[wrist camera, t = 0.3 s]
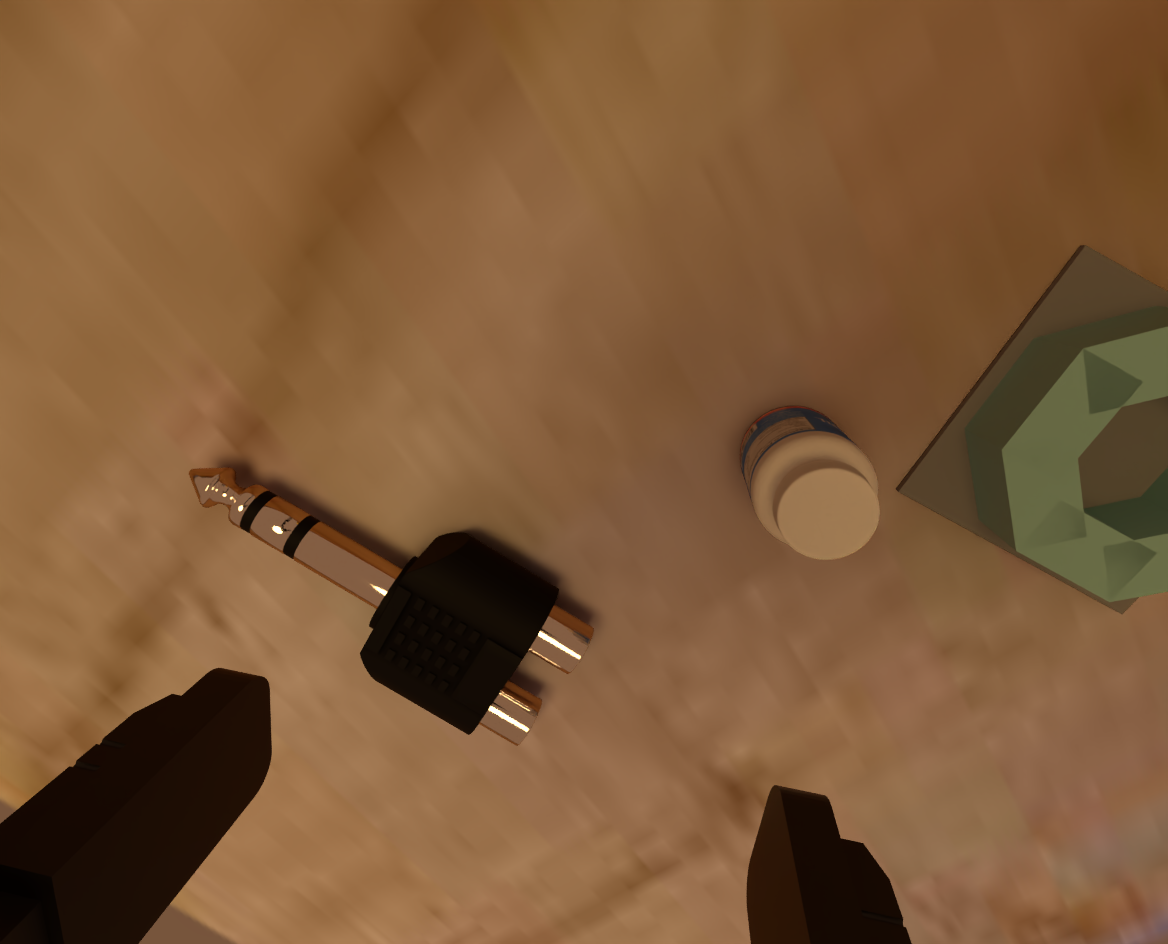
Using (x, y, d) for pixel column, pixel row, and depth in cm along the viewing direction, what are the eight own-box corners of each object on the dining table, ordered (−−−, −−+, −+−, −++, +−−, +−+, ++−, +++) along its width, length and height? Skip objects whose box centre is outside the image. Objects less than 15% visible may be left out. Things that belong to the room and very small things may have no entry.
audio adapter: (501, 778, 38) (127, 561, 37) (521, 718, 43) (193, 525, 42) (596, 647, 34) (185, 402, 33) (606, 599, 39) (249, 384, 38)
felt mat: (1080, 245, 30) (1085, 245, 30) (1332, 388, 31) (1341, 390, 30) (895, 489, 35) (898, 491, 34) (1117, 610, 35) (1122, 614, 35)
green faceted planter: (1087, 267, 30) (1147, 268, 26) (1314, 396, 30) (1405, 415, 27) (919, 486, 34) (949, 514, 30) (1120, 597, 35) (1174, 638, 31)
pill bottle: (858, 470, 35) (923, 545, 26) (766, 514, 36) (797, 600, 27) (813, 383, 34) (864, 428, 25) (720, 432, 35) (736, 492, 26)
